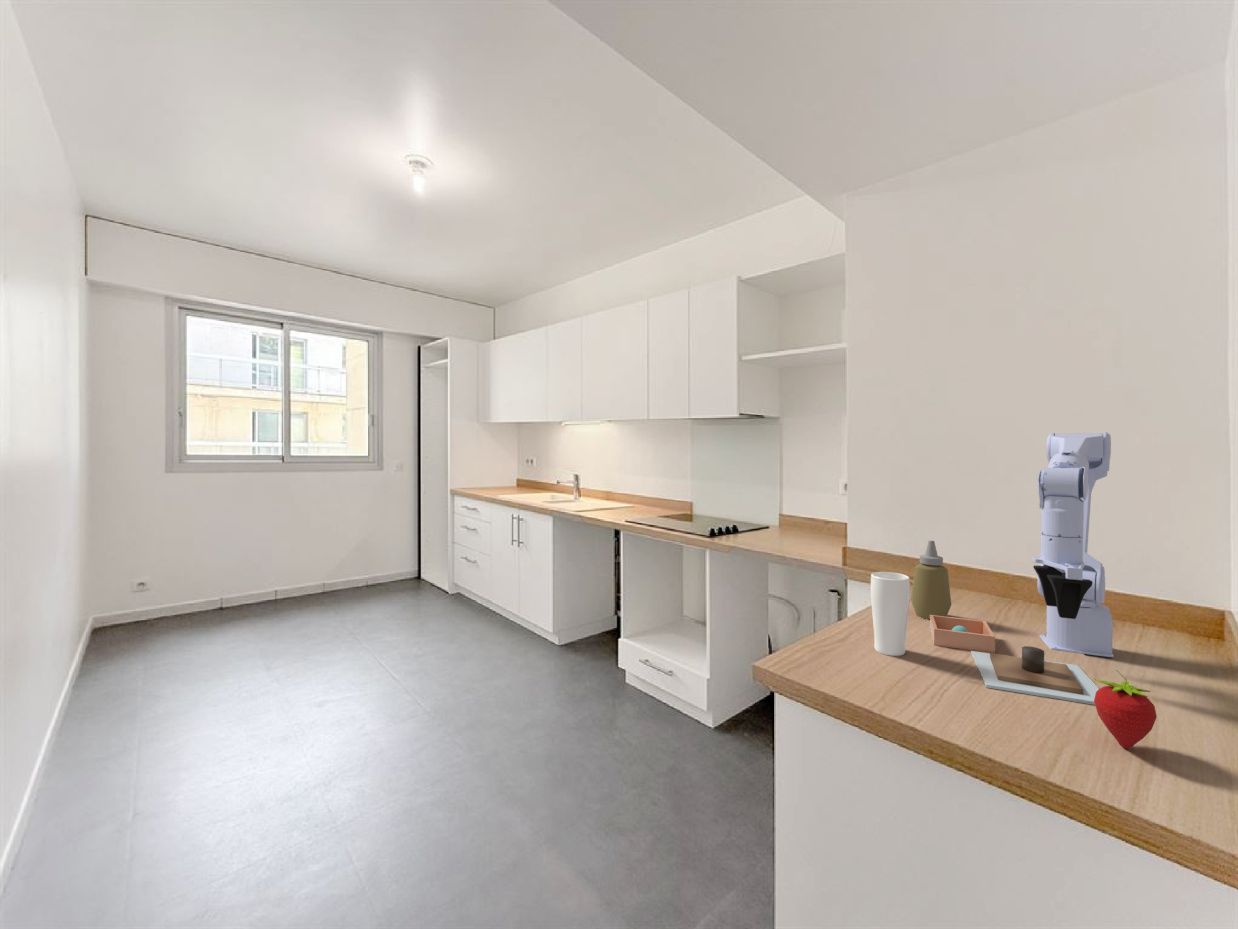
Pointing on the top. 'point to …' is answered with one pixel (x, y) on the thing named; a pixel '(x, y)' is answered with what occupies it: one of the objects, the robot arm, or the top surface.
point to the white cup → (890, 611)
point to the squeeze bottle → (931, 585)
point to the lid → (1035, 671)
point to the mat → (992, 682)
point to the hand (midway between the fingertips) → (1060, 611)
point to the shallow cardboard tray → (962, 634)
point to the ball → (960, 629)
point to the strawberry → (1125, 711)
